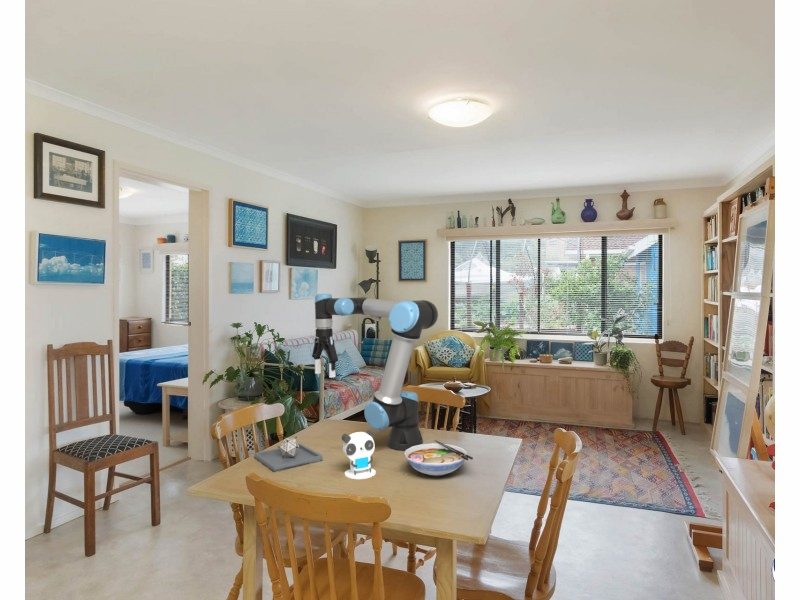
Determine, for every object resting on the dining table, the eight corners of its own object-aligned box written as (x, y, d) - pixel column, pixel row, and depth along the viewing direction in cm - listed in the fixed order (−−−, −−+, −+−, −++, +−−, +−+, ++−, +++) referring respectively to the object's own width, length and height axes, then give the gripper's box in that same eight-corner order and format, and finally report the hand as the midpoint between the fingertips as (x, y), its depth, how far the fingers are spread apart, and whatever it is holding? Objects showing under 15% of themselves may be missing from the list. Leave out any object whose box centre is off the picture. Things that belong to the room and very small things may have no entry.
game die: (294, 465, 202) (308, 443, 204) (287, 464, 194) (302, 441, 196) (276, 452, 204) (291, 431, 206) (269, 451, 196) (284, 429, 199)
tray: (322, 460, 198) (322, 455, 198) (274, 472, 186) (273, 466, 186) (300, 448, 214) (300, 443, 214) (254, 458, 202) (254, 453, 202)
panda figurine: (349, 481, 176) (348, 439, 175) (338, 471, 186) (337, 431, 186) (380, 475, 181) (379, 434, 181) (368, 466, 191) (368, 426, 191)
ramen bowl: (393, 466, 190) (393, 445, 190) (447, 457, 199) (446, 437, 199) (422, 490, 167) (422, 466, 167) (481, 479, 176) (481, 456, 176)
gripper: (345, 329, 218) (346, 377, 219) (318, 326, 238) (319, 371, 239) (330, 330, 214) (331, 380, 214) (304, 327, 234) (305, 372, 234)
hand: (325, 375), depth 226 cm, fingers open, 13 cm apart
